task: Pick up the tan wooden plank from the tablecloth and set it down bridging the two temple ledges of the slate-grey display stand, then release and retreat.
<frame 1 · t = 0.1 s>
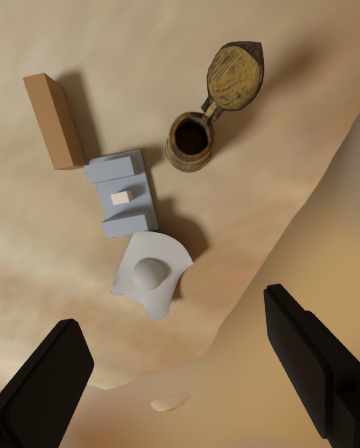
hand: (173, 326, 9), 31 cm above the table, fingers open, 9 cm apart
display stand: (126, 195, 39), on the table
tan wooden plank: (67, 130, 36), on the table
mask: (154, 266, 43), on the table
wooden mug: (196, 138, 36), on the table
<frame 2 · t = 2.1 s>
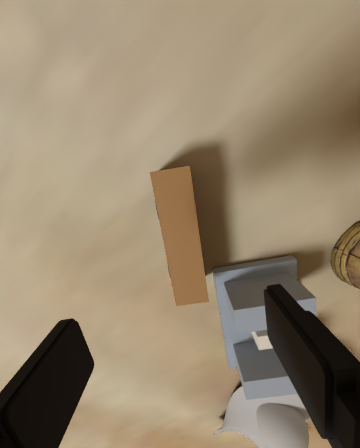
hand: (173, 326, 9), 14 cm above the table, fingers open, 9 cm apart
display stand: (256, 313, 26), on the table
tan wooden plank: (182, 228, 23), on the table
mask: (272, 393, 31), on the table
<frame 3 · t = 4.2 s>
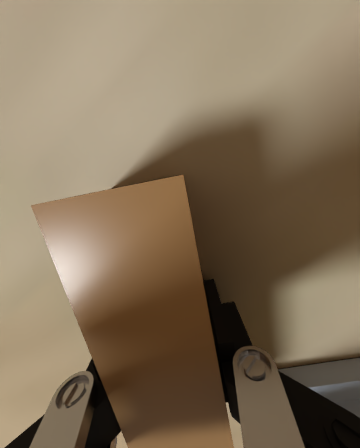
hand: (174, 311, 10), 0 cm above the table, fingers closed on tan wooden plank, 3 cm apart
display stand: (318, 445, 14), on the table
tan wooden plank: (174, 304, 11), on the table, touching gripper
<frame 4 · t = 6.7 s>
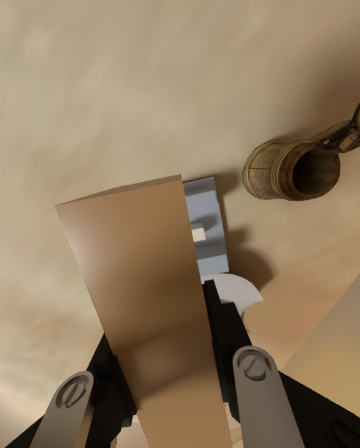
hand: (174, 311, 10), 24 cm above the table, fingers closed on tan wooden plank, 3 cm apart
display stand: (193, 227, 34), on the table
tan wooden plank: (174, 293, 12), point 22 cm above the table, touching gripper
mask: (211, 302, 39), on the table
wooden mug: (278, 161, 31), on the table
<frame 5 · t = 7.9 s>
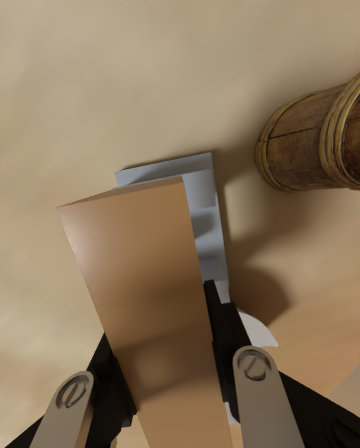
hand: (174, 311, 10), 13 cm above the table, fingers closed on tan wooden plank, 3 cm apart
display stand: (177, 231, 22), on the table
tan wooden plank: (175, 294, 12), point 11 cm above the table, touching gripper
mask: (201, 338, 27), on the table
wooden mug: (313, 131, 20), on the table
when the fingers open (8 cm above the table, at t = 9.1 s): tan wooden plank stays where it is, resting on display stand.
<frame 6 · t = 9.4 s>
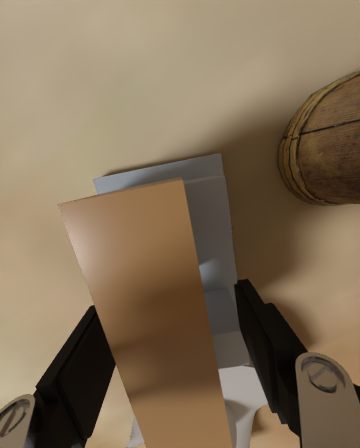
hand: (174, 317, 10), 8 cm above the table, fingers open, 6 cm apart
display stand: (176, 254, 17), on the table
tan wooden plank: (175, 296, 12), point 6 cm above the table, touching display stand
mask: (203, 382, 22), on the table
wooden mug: (354, 126, 15), on the table
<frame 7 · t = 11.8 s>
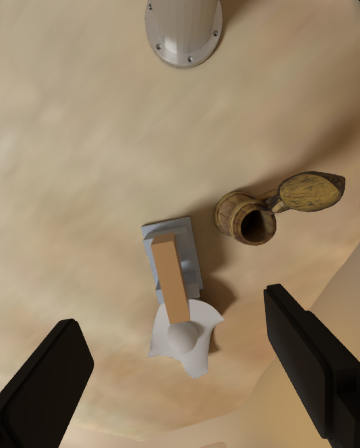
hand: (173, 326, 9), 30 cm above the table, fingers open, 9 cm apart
display stand: (173, 257, 40), on the table
tan wooden plank: (172, 270, 34), point 6 cm above the table, touching display stand
mask: (185, 322, 44), on the table
wooden mug: (242, 205, 38), on the table
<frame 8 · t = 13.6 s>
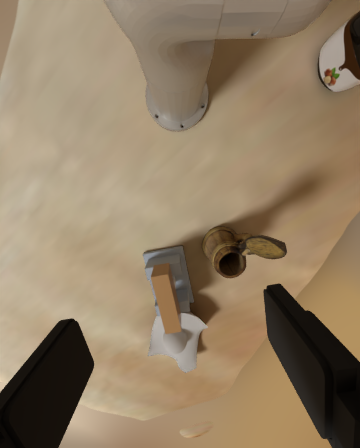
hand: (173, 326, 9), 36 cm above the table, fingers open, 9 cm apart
spread jar: (344, 67, 37), on the table
display stand: (169, 276, 49), on the table
tan wooden plank: (168, 291, 43), point 6 cm above the table, touching display stand
mask: (177, 328, 54), on the table
wooden mug: (225, 237, 47), on the table
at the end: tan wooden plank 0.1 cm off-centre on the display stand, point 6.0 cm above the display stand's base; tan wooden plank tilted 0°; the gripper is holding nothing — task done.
